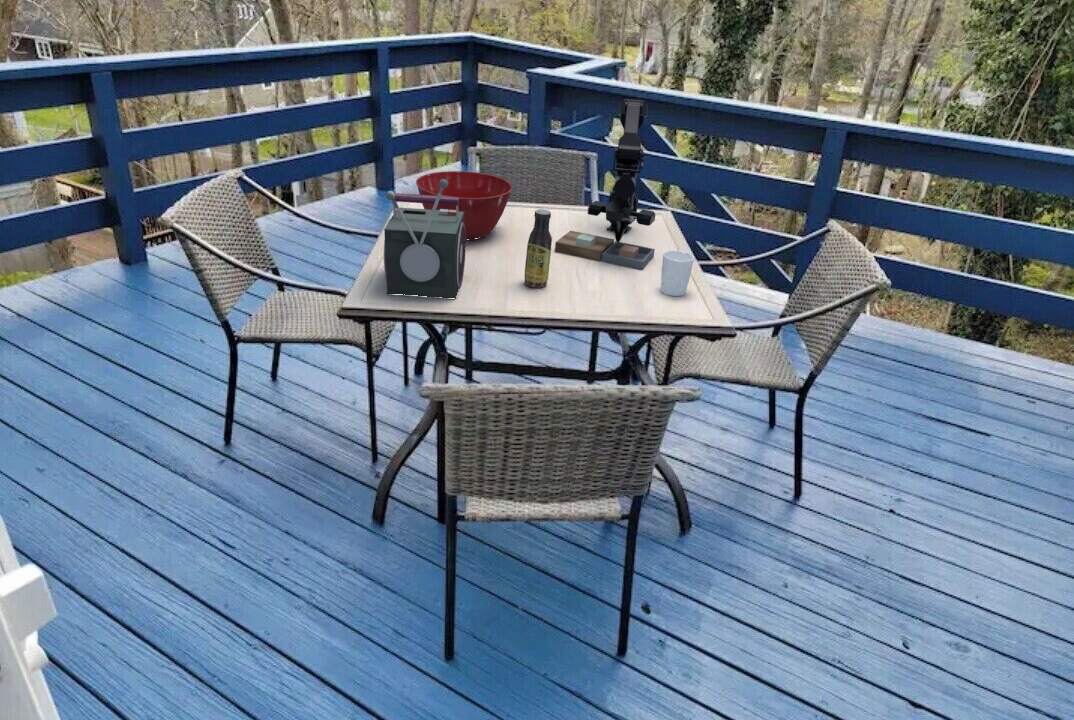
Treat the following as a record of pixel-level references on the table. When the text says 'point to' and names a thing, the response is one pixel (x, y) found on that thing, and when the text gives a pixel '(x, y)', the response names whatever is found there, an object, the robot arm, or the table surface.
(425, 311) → the table surface
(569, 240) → the walnut board
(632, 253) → the terracotta tile
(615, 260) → the tray
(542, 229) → the sauce bottle
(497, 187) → the mixing bowl
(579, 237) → the sage tile
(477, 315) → the table surface
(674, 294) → the white cup
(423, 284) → the boombox
